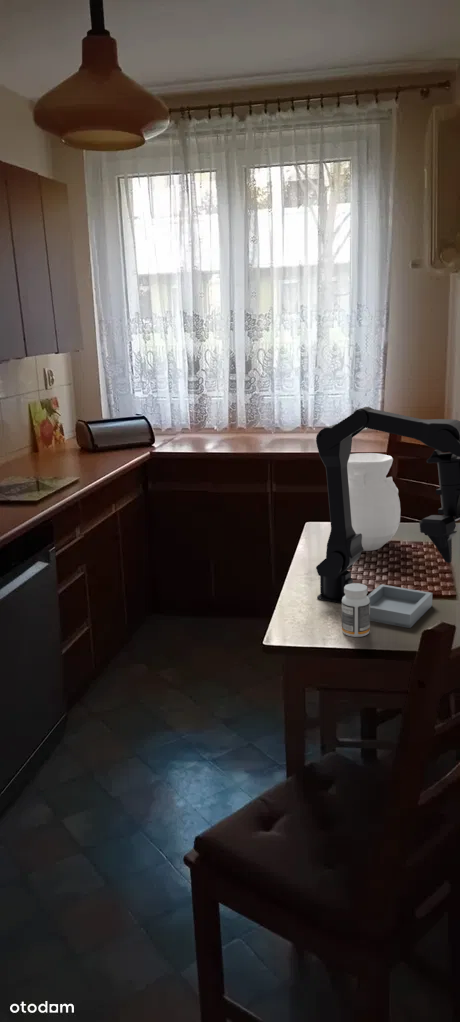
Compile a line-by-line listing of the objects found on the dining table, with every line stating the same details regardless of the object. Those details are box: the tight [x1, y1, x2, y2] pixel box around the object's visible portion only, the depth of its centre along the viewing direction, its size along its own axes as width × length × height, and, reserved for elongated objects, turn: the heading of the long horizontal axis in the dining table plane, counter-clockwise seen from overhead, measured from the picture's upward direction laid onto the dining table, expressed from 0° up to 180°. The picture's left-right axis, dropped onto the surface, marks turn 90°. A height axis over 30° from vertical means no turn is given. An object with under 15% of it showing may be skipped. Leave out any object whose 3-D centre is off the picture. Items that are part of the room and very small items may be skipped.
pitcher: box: [347, 452, 402, 552], centre depth 214 cm, size 19×18×25 cm
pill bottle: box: [341, 582, 371, 638], centre depth 160 cm, size 6×6×10 cm
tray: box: [366, 584, 433, 629], centre depth 170 cm, size 12×14×3 cm
